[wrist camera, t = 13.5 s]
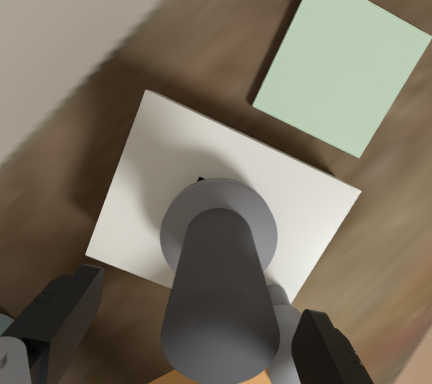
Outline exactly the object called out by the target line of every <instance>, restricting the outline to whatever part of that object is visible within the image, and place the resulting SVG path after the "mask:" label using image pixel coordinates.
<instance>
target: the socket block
mask: <svg viewBox="0 0 432 384" xmlns="http://www.w3.org/2000/svg"><path fill="white" fill-rule="evenodd" d="M199 176H200V177H202V178H204V179H210V178H228V179H232V180H236V181H239V182H242V183H244V184H246V185H248V186H250V187H251V188H252V189H254V190H255V191H256V192H257V193H258V194H259V195H260V196H261V197H262V198H263V199H264V200H265V202H266V204H267V205H268V207H269V209H270V211H271V212H272V214H273V217H274V219H275V222H276V226H277V233H278V240H277V247H276V251H275V254H274V256H273V258H272V261H271V262H270V264H269V265H268V267H267V268H266V269H265V270H264V272H263V274H264V277H265V281H266V284H267V287H268V291H269V294H270V298H271V301H272V305H273V306H276V305H289V306H291V303H292V301H293V299H294V298H295V296H296V295H297V293H298V291H299V290H300V288H301V287H302V285H303V283H304V282H305V280H306V279H307V277H308V275H309V274H310V272H311V271H312V269H313V268H314V266H315V264H316V263H317V261H318V260H319V258H320V256H321V255H322V253H323V252H324V250H325V248H326V247H327V245H328V244H329V242H330V240H331V239H332V237H333V236H334V234H335V233H336V231H337V229H338V228H339V226H340V225H341V223H342V221H343V220H344V218H345V217H346V215H347V213H348V212H349V210H350V209H351V207H352V205H353V204H354V202H355V201H356V199H357V197H358V196H359V194H360V193H361V191H360V190H358V189H356V188H355V187H353V186H351V185H349V184H348V183H346V182H344V181H342V180H340V179H339V178H337V177H335V176H333V175H330V174H328V173H326V172H324V171H322V170H320V169H318V168H316V167H314V166H311V165H309V164H307V163H305V162H303V161H301V160H299V159H297V158H295V157H292V156H290V155H288V154H286V153H284V152H282V151H280V150H278V149H276V148H273V147H271V146H269V145H267V144H265V143H263V142H261V141H259V140H257V139H254V138H252V137H250V136H248V135H246V134H244V133H242V132H240V131H238V130H235V129H233V128H231V127H229V126H227V125H225V124H223V123H221V122H219V121H216V120H214V119H212V118H210V117H208V116H206V115H204V114H202V113H200V112H197V111H195V110H193V109H191V108H189V107H187V106H185V105H183V104H181V103H178V102H176V101H174V100H172V99H170V98H168V97H166V96H164V95H161V94H159V93H156V92H153V91H149V90H145V93H144V96H143V99H142V101H141V104H140V107H139V109H138V112H137V115H136V118H135V120H134V123H133V126H132V129H131V131H130V134H129V137H128V139H127V142H126V145H125V148H124V150H123V153H122V156H121V159H120V161H119V164H118V167H117V169H116V172H115V175H114V178H113V180H112V183H111V186H110V189H109V191H108V194H107V197H106V200H105V202H104V205H103V208H102V210H101V213H100V216H99V219H98V221H97V224H96V227H95V230H94V232H93V235H92V238H91V240H90V243H89V246H88V249H87V251H86V254H85V255H86V256H89V257H92V258H94V259H97V260H99V261H102V262H104V263H107V264H110V265H112V266H115V267H117V268H120V269H122V270H125V271H127V272H130V273H133V274H135V275H138V276H140V277H143V278H145V279H148V280H151V281H153V282H156V283H158V284H161V285H163V286H166V287H168V288H171V289H172V285H173V281H174V277H175V272H174V271H173V270H172V269H171V268H170V266H169V265H168V263H167V262H166V260H165V258H164V255H163V253H162V249H161V245H160V229H161V224H162V221H163V218H164V216H165V214H166V212H167V210H168V208H169V206H170V204H171V202H172V201H173V200H174V198H175V197H176V196H177V195H178V194H179V193H180V192H181V191H182V190H184V189H185V188H186V187H188V186H190V185H191V184H193V183H196V182H197V181H198V179H199Z"/></svg>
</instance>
